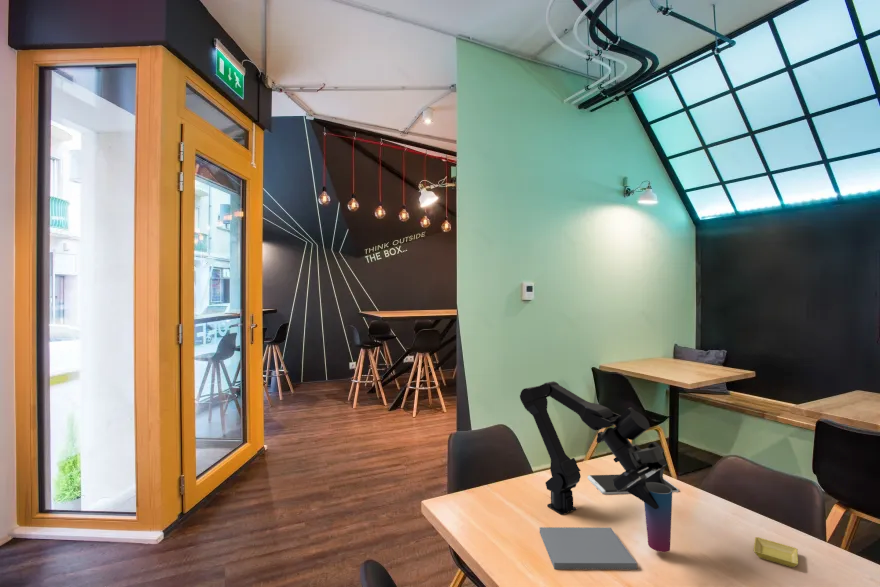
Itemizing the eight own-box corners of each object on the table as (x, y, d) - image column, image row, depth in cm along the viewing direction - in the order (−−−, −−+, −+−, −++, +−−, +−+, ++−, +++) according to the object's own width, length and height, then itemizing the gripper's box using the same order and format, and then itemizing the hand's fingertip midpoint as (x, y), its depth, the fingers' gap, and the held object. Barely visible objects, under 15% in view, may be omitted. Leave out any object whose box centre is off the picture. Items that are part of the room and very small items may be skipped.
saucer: (755, 543, 112) (755, 536, 112) (797, 556, 106) (797, 547, 106) (753, 559, 105) (753, 550, 105) (798, 573, 100) (798, 564, 100)
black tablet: (680, 494, 142) (679, 488, 142) (602, 496, 140) (602, 490, 140) (657, 477, 155) (657, 473, 155) (586, 479, 153) (586, 474, 153)
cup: (678, 555, 103) (676, 494, 103) (648, 552, 104) (646, 492, 105) (669, 540, 110) (667, 483, 110) (641, 537, 111) (639, 481, 111)
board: (554, 569, 101) (554, 562, 101) (539, 532, 117) (539, 527, 117) (636, 569, 101) (636, 563, 101) (610, 532, 117) (610, 527, 117)
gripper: (623, 440, 105) (669, 501, 96) (659, 426, 116) (703, 480, 107) (595, 462, 111) (636, 521, 102) (632, 447, 122) (672, 499, 113)
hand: (663, 504), depth 106 cm, fingers closed on cup, 6 cm apart
